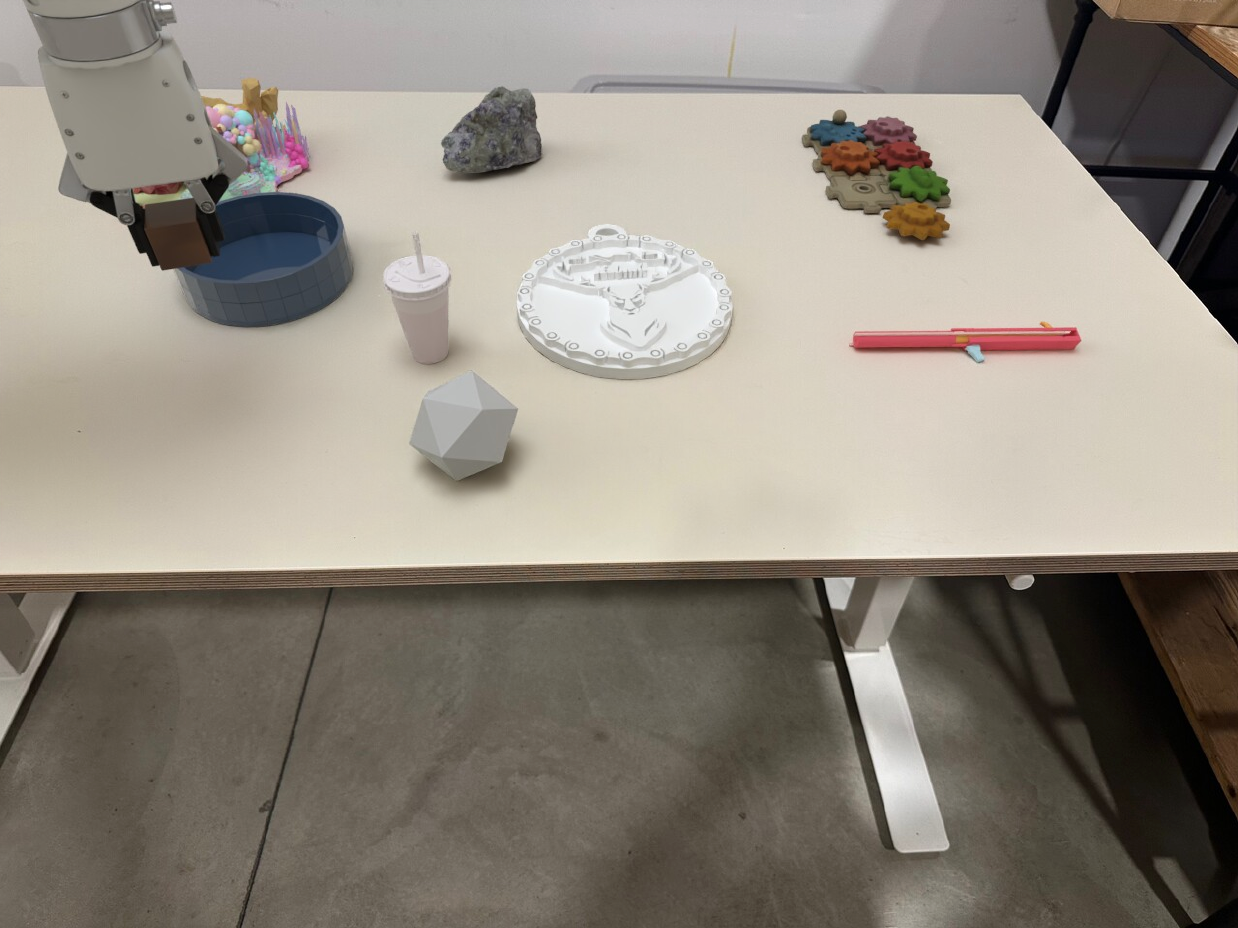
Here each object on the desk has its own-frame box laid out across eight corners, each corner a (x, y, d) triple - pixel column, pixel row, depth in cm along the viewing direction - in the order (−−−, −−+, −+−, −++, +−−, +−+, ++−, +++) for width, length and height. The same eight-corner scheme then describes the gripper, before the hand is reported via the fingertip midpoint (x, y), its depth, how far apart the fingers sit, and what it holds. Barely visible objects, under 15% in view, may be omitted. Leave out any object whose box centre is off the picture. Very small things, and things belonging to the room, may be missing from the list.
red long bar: (1076, 365, 91) (1065, 328, 93) (1087, 354, 89) (1075, 317, 91) (853, 367, 90) (846, 330, 92) (858, 356, 88) (852, 318, 90)
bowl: (188, 342, 89) (169, 298, 85) (181, 249, 101) (165, 207, 97) (365, 307, 94) (355, 264, 90) (340, 223, 106) (330, 181, 102)
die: (480, 414, 84) (404, 361, 77) (549, 406, 78) (474, 348, 71) (454, 494, 81) (372, 446, 73) (524, 492, 75) (443, 440, 68)
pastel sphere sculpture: (127, 142, 118) (99, 74, 112) (304, 122, 124) (288, 56, 117) (114, 238, 102) (81, 165, 95) (319, 210, 107) (301, 139, 101)
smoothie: (450, 376, 86) (431, 255, 76) (389, 367, 87) (362, 247, 77) (469, 337, 91) (453, 218, 81) (410, 329, 91) (388, 210, 81)
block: (161, 271, 72) (143, 228, 69) (161, 246, 75) (144, 204, 72) (212, 263, 73) (196, 221, 70) (210, 238, 76) (195, 197, 73)
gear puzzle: (979, 247, 105) (990, 217, 102) (849, 249, 104) (857, 219, 101) (903, 130, 126) (911, 102, 124) (795, 131, 125) (800, 103, 122)
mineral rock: (444, 183, 113) (433, 107, 106) (449, 144, 120) (439, 71, 113) (542, 181, 114) (539, 106, 106) (541, 143, 121) (538, 70, 114)
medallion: (526, 389, 85) (525, 370, 84) (507, 240, 104) (506, 223, 102) (755, 369, 88) (759, 351, 87) (698, 228, 107) (700, 211, 105)
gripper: (221, -2, 65) (284, 215, 78) (-29, 20, 61) (82, 246, 74) (226, 34, 60) (291, 260, 73) (-46, 61, 56) (76, 295, 69)
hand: (185, 251), depth 74 cm, fingers closed on block, 4 cm apart
